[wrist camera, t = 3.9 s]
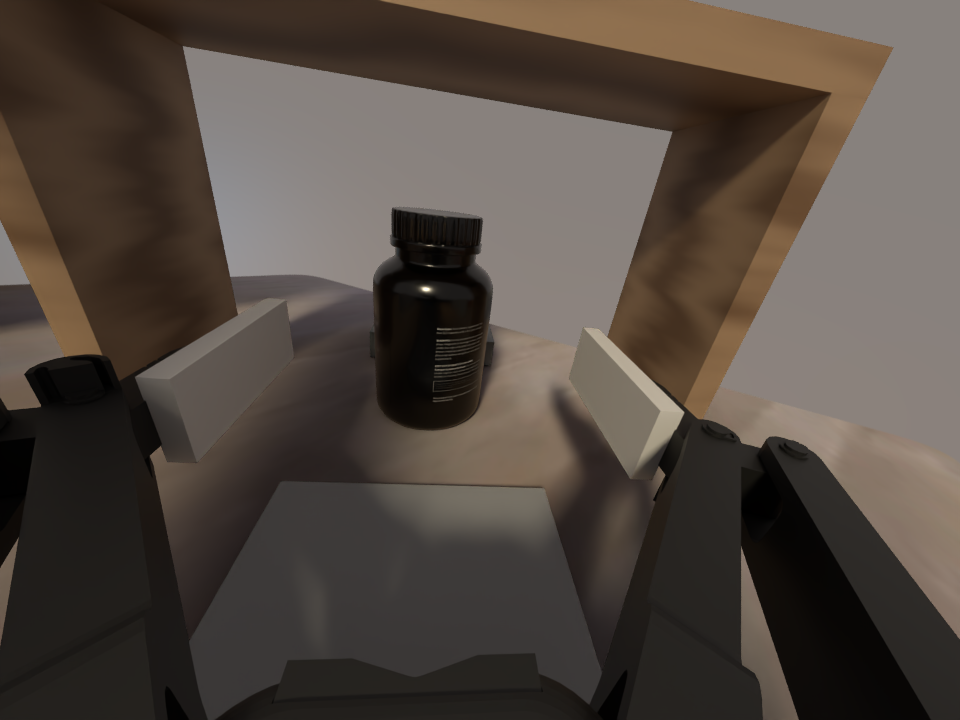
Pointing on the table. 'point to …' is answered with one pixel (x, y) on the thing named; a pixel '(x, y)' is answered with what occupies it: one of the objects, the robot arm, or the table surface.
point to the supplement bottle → (431, 319)
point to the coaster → (393, 587)
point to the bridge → (432, 65)
